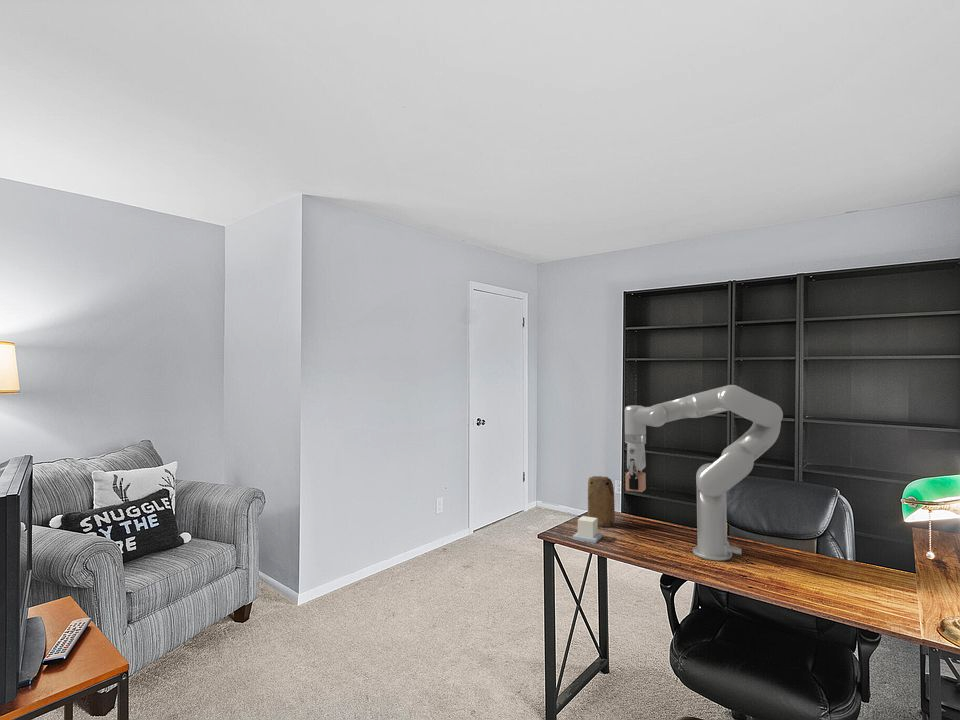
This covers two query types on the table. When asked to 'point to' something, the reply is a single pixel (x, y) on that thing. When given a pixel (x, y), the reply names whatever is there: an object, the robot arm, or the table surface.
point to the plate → (587, 538)
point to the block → (601, 500)
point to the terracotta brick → (641, 482)
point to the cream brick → (587, 526)
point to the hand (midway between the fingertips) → (635, 487)
